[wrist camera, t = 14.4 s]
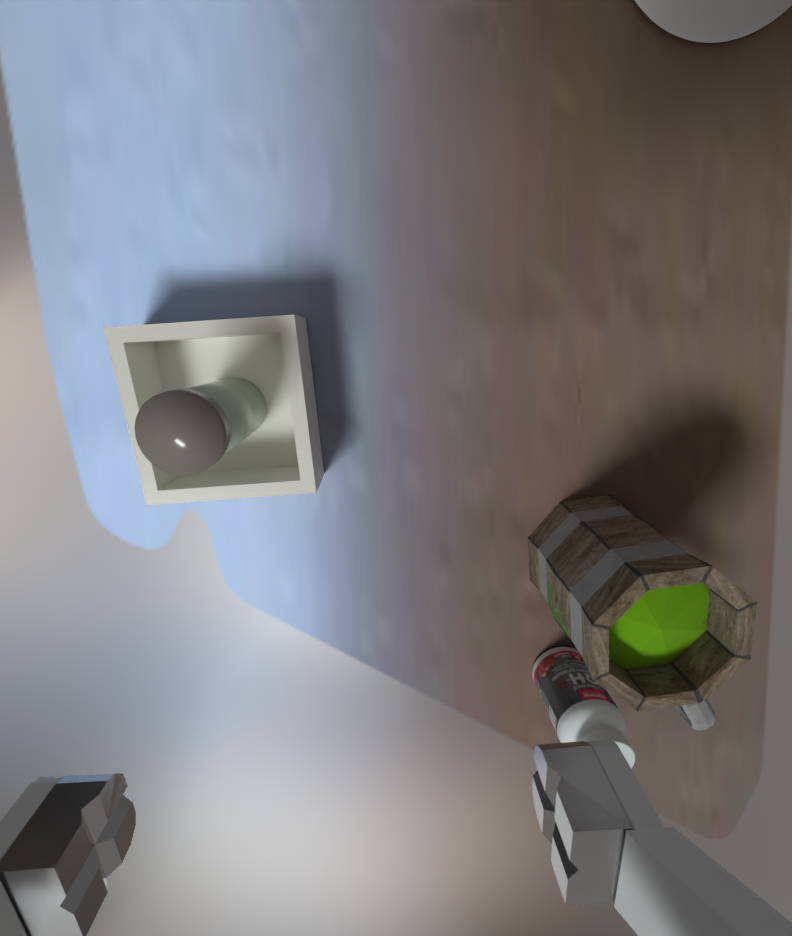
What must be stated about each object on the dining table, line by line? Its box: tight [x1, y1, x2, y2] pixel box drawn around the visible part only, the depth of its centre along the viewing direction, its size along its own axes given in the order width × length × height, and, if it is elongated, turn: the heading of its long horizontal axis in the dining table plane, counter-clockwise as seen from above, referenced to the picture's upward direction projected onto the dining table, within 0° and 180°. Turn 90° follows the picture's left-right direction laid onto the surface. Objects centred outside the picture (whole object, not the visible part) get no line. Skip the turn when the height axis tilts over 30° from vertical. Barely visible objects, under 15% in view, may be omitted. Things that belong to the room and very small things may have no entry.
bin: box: [103, 315, 324, 505], centre depth 32 cm, size 12×12×5 cm
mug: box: [528, 495, 757, 731], centre depth 33 cm, size 16×11×12 cm
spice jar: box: [135, 377, 267, 476], centre depth 28 cm, size 5×5×10 cm
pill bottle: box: [532, 647, 635, 769], centre depth 37 cm, size 5×5×10 cm
